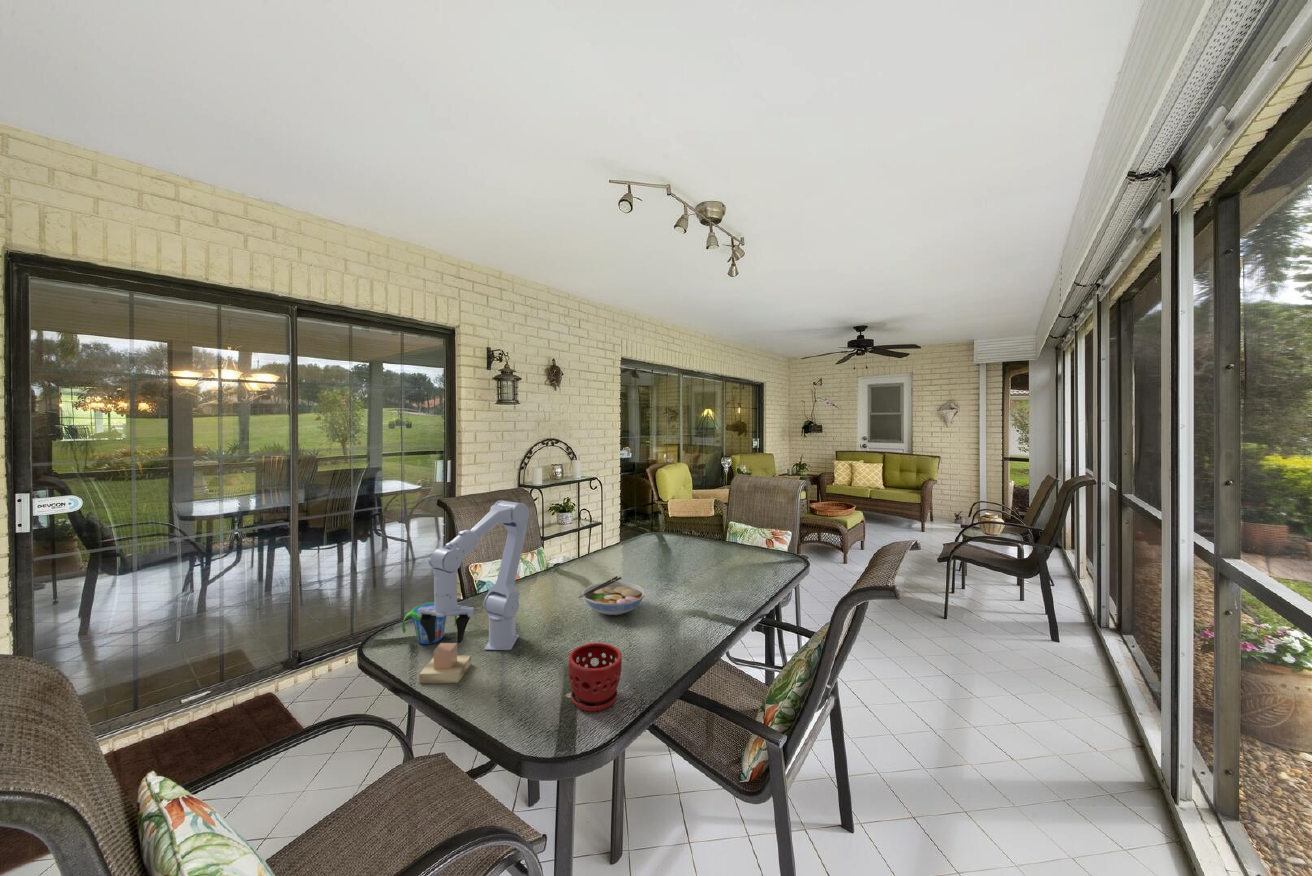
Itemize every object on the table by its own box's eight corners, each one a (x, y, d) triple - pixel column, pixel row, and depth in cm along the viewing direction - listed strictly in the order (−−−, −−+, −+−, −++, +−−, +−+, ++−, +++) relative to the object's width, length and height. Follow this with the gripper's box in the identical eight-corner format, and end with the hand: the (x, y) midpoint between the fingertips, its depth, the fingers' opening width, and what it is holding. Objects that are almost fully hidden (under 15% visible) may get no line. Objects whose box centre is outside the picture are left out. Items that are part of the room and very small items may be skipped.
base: (435, 663, 139) (435, 655, 139) (471, 663, 139) (471, 655, 139) (419, 683, 129) (419, 673, 129) (457, 683, 129) (457, 673, 129)
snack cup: (398, 650, 147) (398, 616, 146) (407, 634, 157) (407, 603, 157) (454, 644, 151) (454, 612, 150) (459, 630, 161) (459, 599, 160)
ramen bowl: (619, 631, 161) (619, 607, 161) (566, 616, 173) (566, 593, 173) (658, 607, 183) (658, 585, 182) (609, 594, 195) (609, 574, 194)
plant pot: (557, 705, 120) (557, 657, 120) (592, 681, 131) (592, 637, 131) (597, 724, 113) (598, 673, 113) (631, 697, 124) (632, 651, 123)
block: (440, 660, 136) (440, 643, 136) (457, 660, 136) (457, 643, 136) (433, 669, 131) (433, 650, 131) (450, 669, 132) (450, 650, 131)
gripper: (411, 597, 129) (412, 648, 130) (467, 598, 129) (467, 648, 130) (423, 588, 136) (424, 636, 137) (476, 588, 136) (476, 636, 137)
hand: (446, 641), depth 134 cm, fingers open, 7 cm apart
